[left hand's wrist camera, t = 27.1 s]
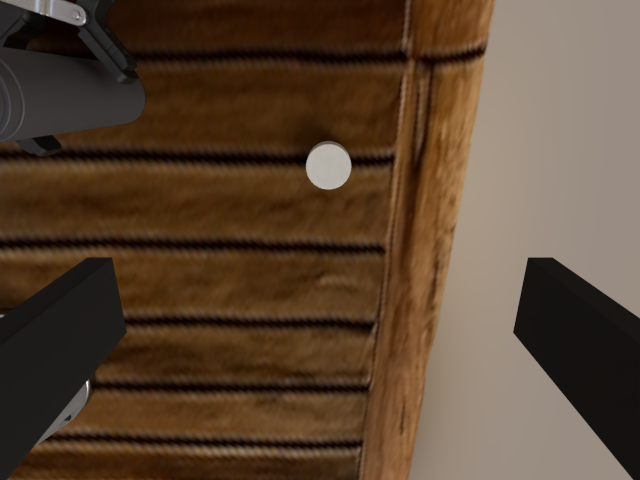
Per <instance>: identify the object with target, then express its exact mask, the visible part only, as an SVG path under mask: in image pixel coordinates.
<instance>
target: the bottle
mask: <svg viewBox="0 0 640 480" xmlns="http://www.w3.org/2000/svg"><path fill="white" fill-rule="evenodd" d="M144 106H145V92H144V88H143V86H142V83H141V82H140V80H139V78H138V79H137V80H136V81H135V82H134V83H133V84H132V85H129V84H121V83H119V82H118V81H117V80H116V79H115V78H114V77H113V76H112V75H111V74H110V73H109V71H108V70H107V69H106V68H105V67H104V65H103V64H102V63H101V62H100V61H97V60H90V59H83V58H76V57H69V56H62V55H55V54H48V53H41V52H34V51H27V50H20V49H13V48H6V47H0V143H1V142H8V141H14V140H21V139H28V138H34V137H41V136H48V135H54V134H61V133H68V132H75V131H81V130H88V129H95V128H101V127H108V126H115V125H121V124H127V123H131V122H133V121H134V120H136V119H137V118H138V117H139V116H140V115H141V113H142V111H143V109H144Z"/></svg>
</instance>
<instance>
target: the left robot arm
mask: <svg viewBox="0 0 640 480" xmlns="http://www.w3.org/2000/svg"><path fill="white" fill-rule="evenodd" d="M126 333H127V331H126V326H125V321H124V316H123V311H122V306H121V301H120V296H119V291H118V286H117V281H116V276H115V271H114V266H113V261H112V258H86V259H85V260H83V261H82V262H81V263H79V264H78V265H76V266H75V267H73V268H72V269H70V270H69V271H68V272H66V273H65V274H63V275H62V276H60V277H59V278H58V279H56V280H55V281H53V282H52V283H50V284H49V285H48V286H46V287H45V288H43V289H42V290H40V291H39V292H37V293H36V294H35V295H33V296H32V297H30V298H29V299H27V300H26V301H25V302H23V303H22V304H20V305H19V306H17V307H16V308H14V309H0V480H7V479H8V477H9V476H10V475H11V474H12V473H13V471H14V470H15V469H16V468H17V466H18V465H19V464H20V463H21V462H22V460H23V459H24V458H25V457H26V455H27V454H28V453H29V452H30V451H31V449H32V448H33V447H34V446H36V445H37V444H39V443H40V442H42V441H43V440H45V439H46V438H47V437H49V436H50V435H52V434H53V433H54V432H56V431H57V430H58V429H60V428H62V427H63V426H65V425H66V424H68V423H69V422H70V421H71V420H73V419H74V418H75V417H76V416H77V415H78V414H79V413H80V412H81V410H82V409H83V408H84V407H85V405H86V404H87V403H88V401H89V400H90V398H91V396H92V394H93V392H94V388H95V371H96V370H97V368H98V367H99V366H100V365H101V363H102V362H103V361H104V360H105V359H106V357H107V356H108V355H109V354H110V352H111V351H112V350H113V349H114V348H115V346H116V345H117V344H118V343H119V341H120V340H121V339H122V338H123V337H124V335H125V334H126ZM513 333H514V334H515V335H516V337H517V338H518V339H519V340H520V341H521V343H522V344H523V345H524V346H525V348H526V349H527V350H528V351H529V352H530V354H531V355H532V356H533V357H534V359H535V360H536V361H537V362H538V363H539V365H540V366H541V367H542V368H543V370H544V371H545V372H546V373H547V375H548V376H549V377H550V378H551V379H552V381H553V382H554V383H555V384H556V386H557V387H558V388H559V389H560V390H561V392H562V393H563V394H564V395H565V397H566V398H567V399H568V400H569V401H570V403H571V404H572V405H573V406H574V408H575V409H576V410H577V411H578V412H579V414H580V415H581V416H582V417H583V419H584V420H585V421H586V422H587V423H588V425H589V426H590V427H591V428H592V430H593V431H594V432H595V433H596V435H597V436H598V437H599V438H600V439H601V441H602V442H603V443H604V444H605V446H606V447H607V448H608V449H609V450H610V452H611V453H612V454H613V455H614V457H615V458H616V459H617V460H618V462H619V463H620V464H621V465H622V466H623V468H624V469H625V470H626V471H627V473H628V474H629V475H630V476H631V477H632V479H633V480H640V318H638V317H637V316H636V315H634V314H633V313H631V312H630V311H628V310H627V309H626V308H624V307H623V306H621V305H620V304H618V303H617V302H615V301H614V300H613V299H611V298H610V297H608V296H607V295H605V294H604V293H602V292H601V291H600V290H598V289H597V288H595V287H594V286H592V285H591V284H590V283H588V282H587V281H585V280H584V279H582V278H581V277H580V276H578V275H577V274H575V273H574V272H572V271H571V270H570V269H568V268H567V267H565V266H564V265H562V264H561V263H559V262H558V261H557V260H555V259H554V258H528V261H527V266H526V271H525V276H524V281H523V286H522V291H521V296H520V301H519V306H518V311H517V316H516V321H515V326H514V331H513Z"/></svg>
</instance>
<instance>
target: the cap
mask: <svg viewBox="0 0 640 480" xmlns="http://www.w3.org/2000/svg"><path fill="white" fill-rule="evenodd" d="M306 172H307V175H308V177H309V179H310V180H311V182H312V183H313V184H315V185H316V186H318V187H320V188H323V189H334V188H337V187H339V186H341V185H342V184H344V183H345V182H346V180H347V179H348V177H349V175H350V172H351V161H350V158H349V155H348V153H347V151H346V149H345V148H344V147H343V146H342V145H340V144H338V143H336V142H333V141H324V142H321V143H319V144H317V145H316V146H314V147H313V148H312V150H311V151H310V153H309V155H308V158H307V162H306Z"/></svg>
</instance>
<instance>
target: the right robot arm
mask: <svg viewBox="0 0 640 480" xmlns="http://www.w3.org/2000/svg"><path fill="white" fill-rule="evenodd" d="M116 1H117V0H76V3H75V4H73V3H70V2H67V1H64V0H0V47H6V48H13V49H20V50H25V49H26V47H27V45H28V42H29V41H30V40H31V39H33V38H35V37H37V36H39V35H40V34H41V33H42V32H43V31H44V30H45V29H46V27H45V26H44V22H45V15H46V16H49V17H52V18H55V19H58V20H61V21H64V22H67V23H70V24H73V25H76V26H77V27H78V28H79V30H80V32H79V33H78V34H77V35H78V36H79V37H80V38H81V39H82V41H83V42H84V43H85V44H86V45H87V46H88V48H89V49H90V50H91V51H92V52H93V54H94V55H95V56H96V57H97V58H98V60H99V61H100V62H101V63H102V64H103V65H104V67H105V68H106V69H107V70H108V71H109V73H110V74H111V75H112V76H113V77H114V78H115V79H116V80H117V81H118V82H119V83H121V84H129V85H132V84H133V83H134V82H135V81H136V80H137V79H138V78H139V77H138V75H137V73H136V72H135V71H134V69H135V68H136V67H137V65H136V62H135V59H134V58H133V56H132V55H131V54H130V53H129V52H128V50H127V49H126V48H125V47H124V46H123V44H122V43H121V42H120V41H119V39H118V38H117V37H116V36H115V34H114V33H113V32H112V31H111V29H110V28H109V27H108V25H107V22H106V14H107V12H108V9H109V7H110V6H112V5H114V4H115V3H116ZM15 141H16V142H17V143H18V144H19V145H20V146H21V147H22V148H23V149H24V150H25V151H27V152H29V153H30V154H36V155H38V156H41V157H44V156H48V155H53V154H55V153H56V152H57V151H59V150H60V149H61V144H60V143H59V142H58V141H57V140H56V139H55V138H54V137H53V136H52V135H48V136H41V137H34V138H28V139H21V140H15Z"/></svg>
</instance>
